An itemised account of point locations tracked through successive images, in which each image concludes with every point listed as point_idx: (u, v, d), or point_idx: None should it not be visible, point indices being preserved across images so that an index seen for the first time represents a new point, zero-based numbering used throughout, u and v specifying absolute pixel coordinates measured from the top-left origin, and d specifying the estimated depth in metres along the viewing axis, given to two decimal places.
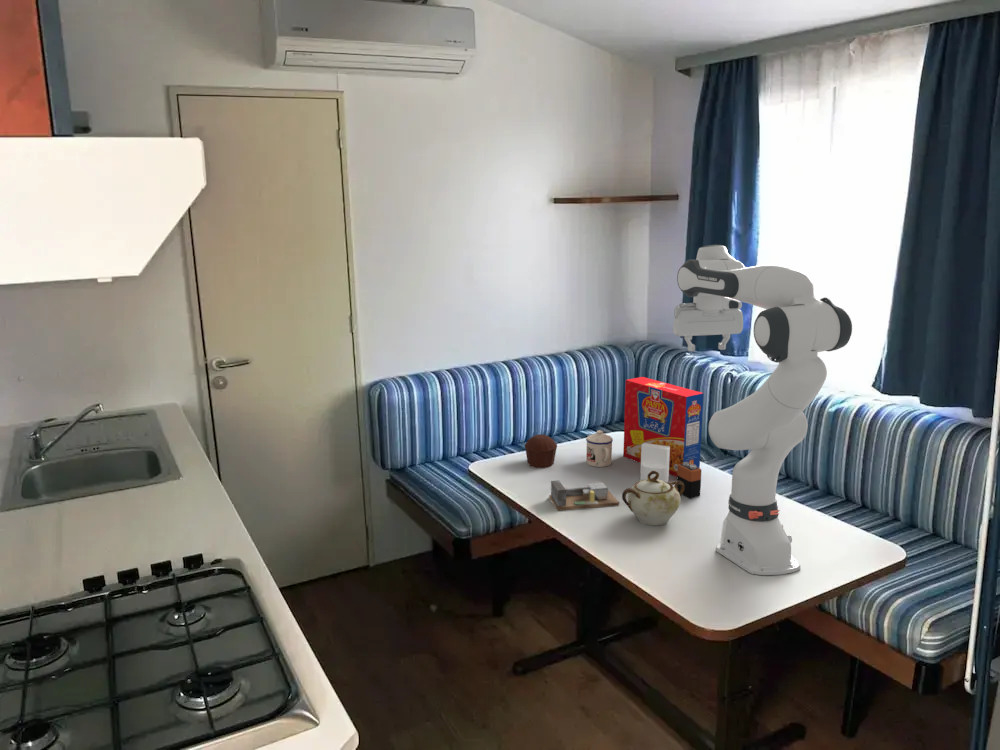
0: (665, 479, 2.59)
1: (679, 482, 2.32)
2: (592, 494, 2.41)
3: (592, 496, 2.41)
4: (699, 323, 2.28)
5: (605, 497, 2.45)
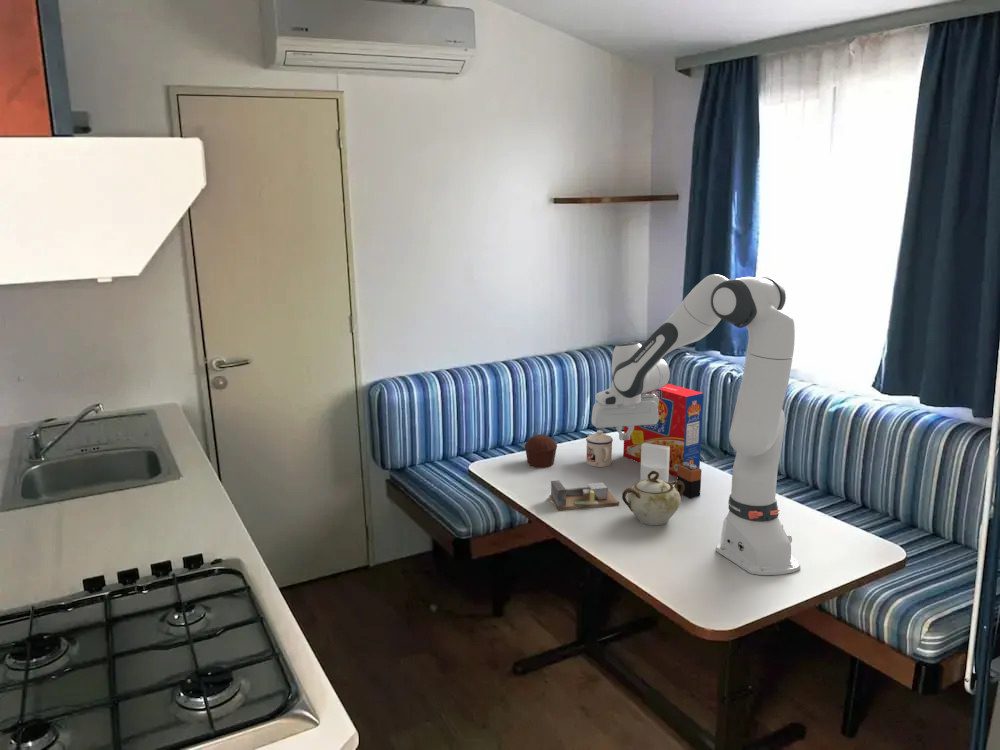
0: (665, 479, 2.59)
1: (679, 482, 2.32)
2: (592, 494, 2.41)
3: (592, 496, 2.41)
4: None
5: (605, 497, 2.45)
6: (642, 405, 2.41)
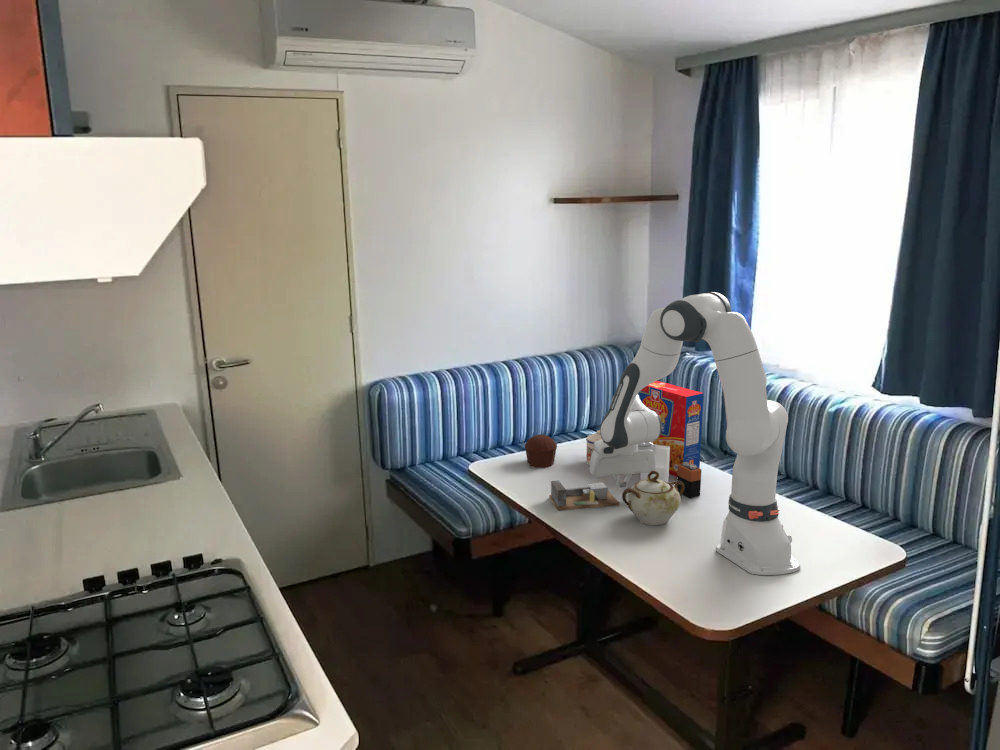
0: (665, 479, 2.59)
1: (679, 482, 2.32)
2: (592, 494, 2.41)
3: (592, 496, 2.41)
4: None
5: (605, 497, 2.45)
6: (639, 454, 2.44)
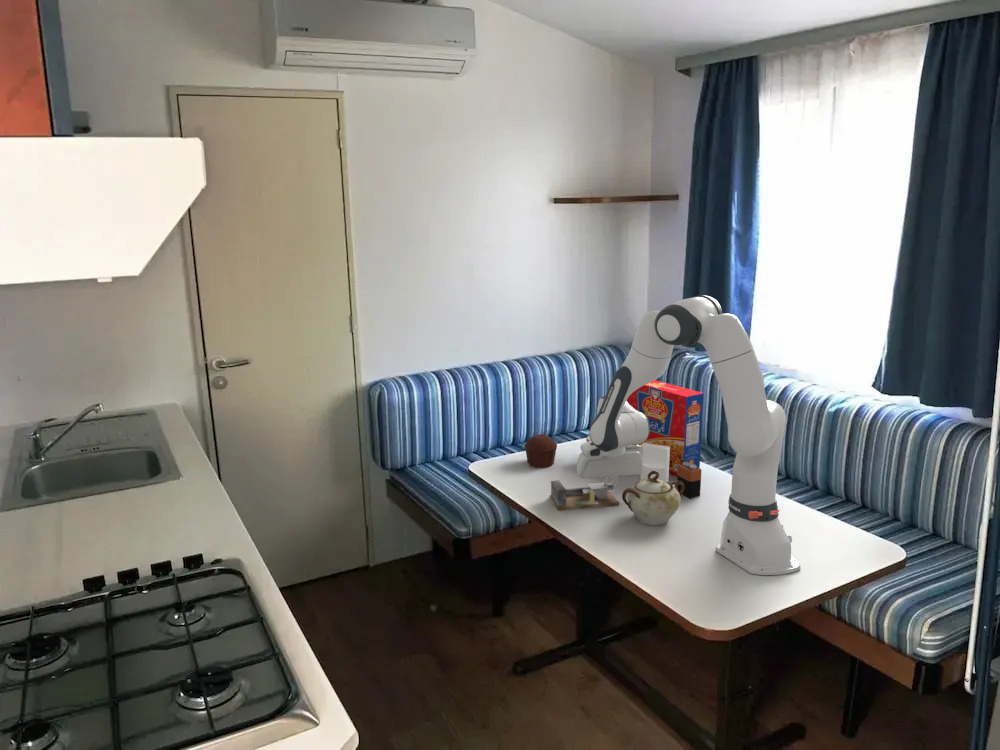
0: (665, 479, 2.59)
1: (679, 482, 2.32)
2: (592, 494, 2.41)
3: (592, 496, 2.41)
4: None
5: (605, 497, 2.45)
6: (626, 456, 2.44)
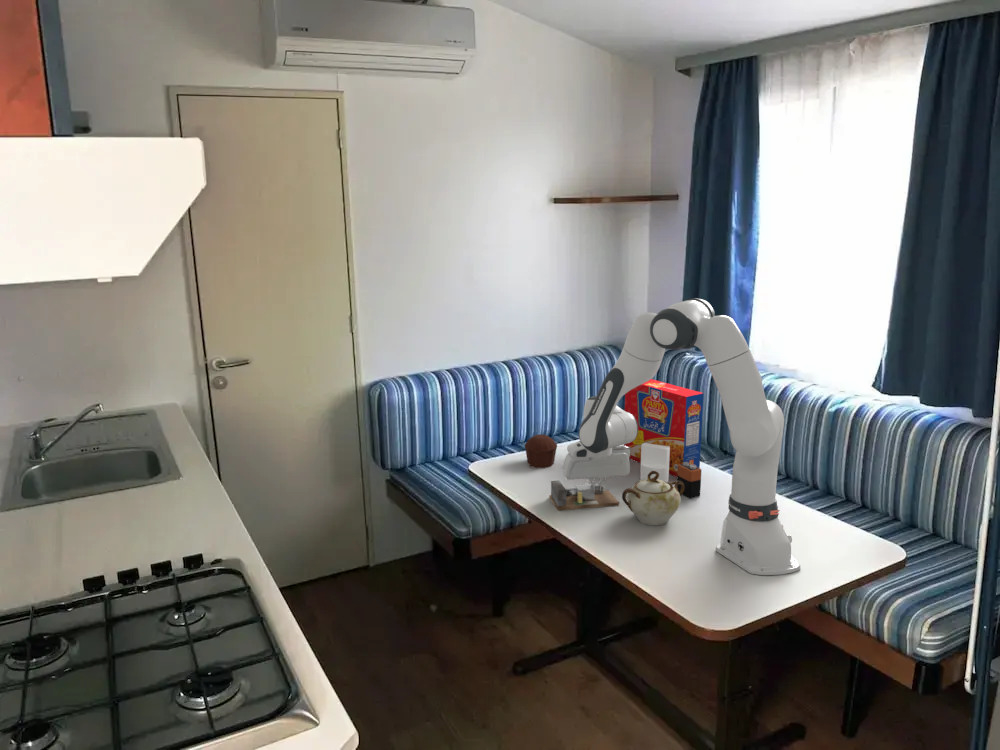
0: (665, 479, 2.59)
1: (679, 482, 2.32)
2: (580, 495, 2.40)
3: (580, 497, 2.40)
4: None
5: (592, 498, 2.44)
6: (613, 457, 2.43)
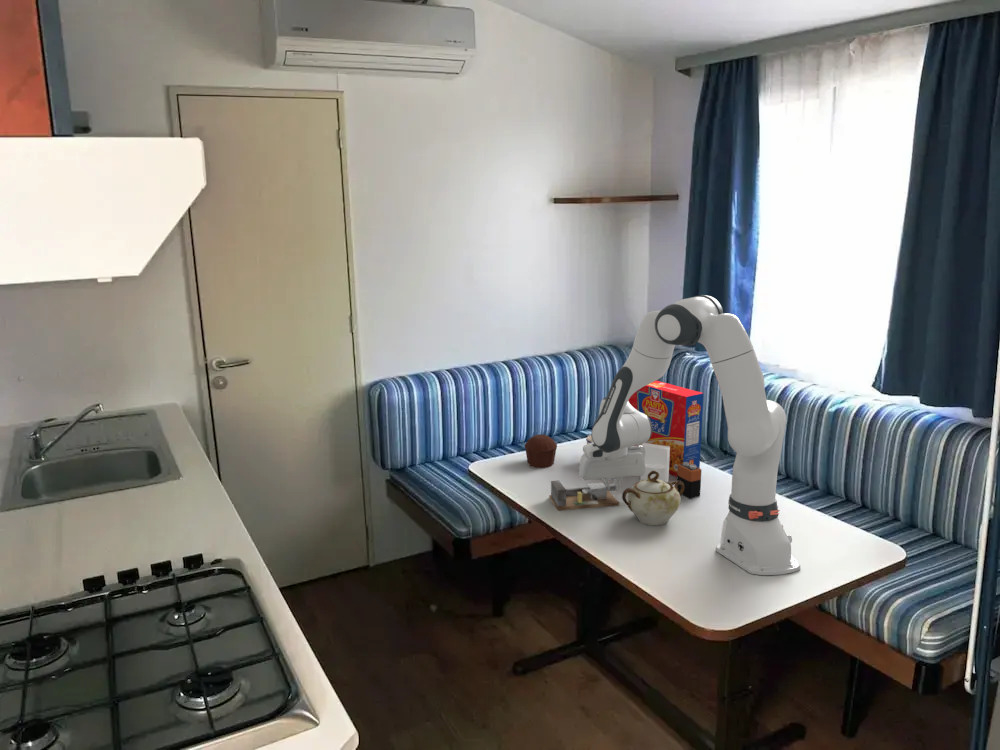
0: (665, 479, 2.59)
1: (679, 482, 2.32)
2: (580, 495, 2.40)
3: (580, 497, 2.40)
4: None
5: (604, 497, 2.45)
6: (628, 457, 2.44)
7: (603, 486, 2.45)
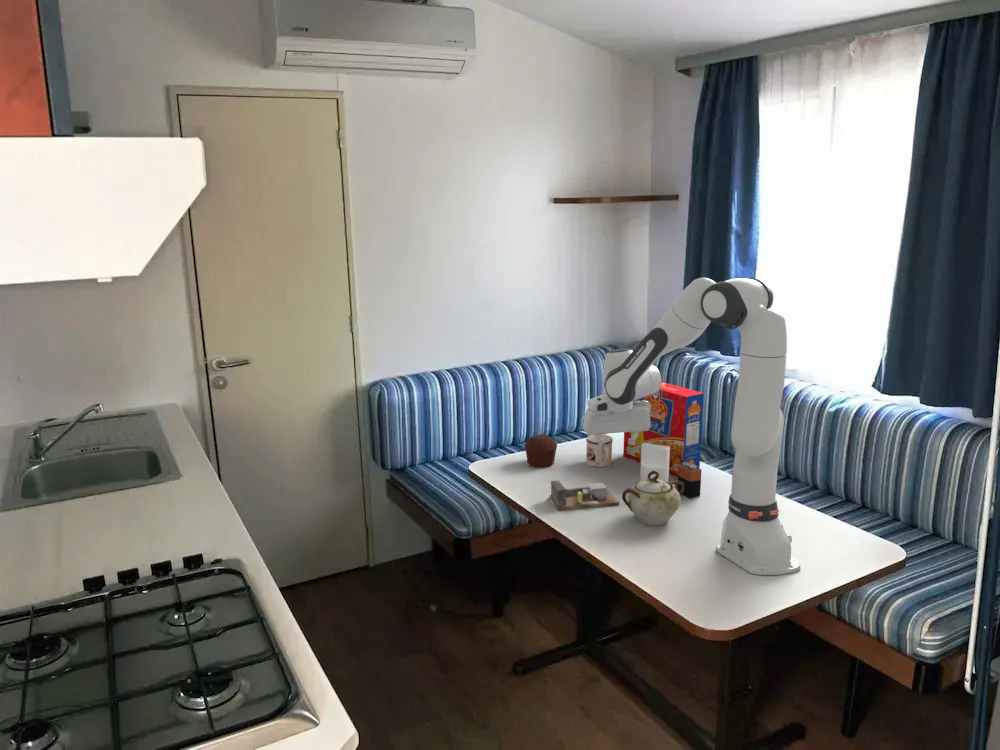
0: (665, 479, 2.59)
1: (679, 482, 2.32)
2: (580, 495, 2.40)
3: (580, 497, 2.40)
4: None
5: (604, 497, 2.45)
6: (633, 411, 2.41)
7: (603, 486, 2.45)
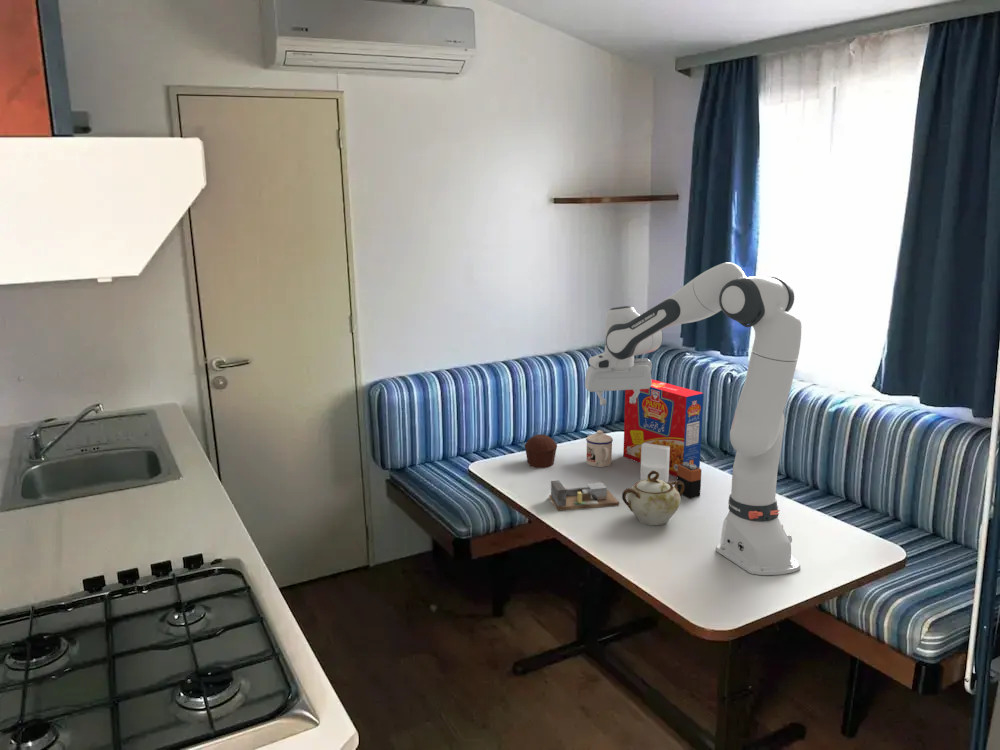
0: (665, 479, 2.59)
1: (679, 482, 2.32)
2: (580, 495, 2.40)
3: (580, 497, 2.40)
4: None
5: (604, 497, 2.45)
6: (635, 369, 2.42)
7: (603, 486, 2.45)
